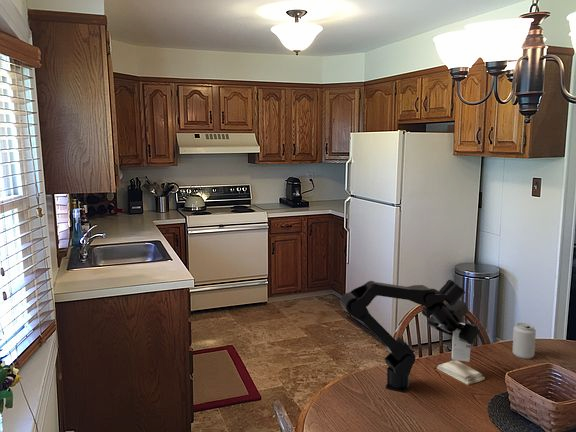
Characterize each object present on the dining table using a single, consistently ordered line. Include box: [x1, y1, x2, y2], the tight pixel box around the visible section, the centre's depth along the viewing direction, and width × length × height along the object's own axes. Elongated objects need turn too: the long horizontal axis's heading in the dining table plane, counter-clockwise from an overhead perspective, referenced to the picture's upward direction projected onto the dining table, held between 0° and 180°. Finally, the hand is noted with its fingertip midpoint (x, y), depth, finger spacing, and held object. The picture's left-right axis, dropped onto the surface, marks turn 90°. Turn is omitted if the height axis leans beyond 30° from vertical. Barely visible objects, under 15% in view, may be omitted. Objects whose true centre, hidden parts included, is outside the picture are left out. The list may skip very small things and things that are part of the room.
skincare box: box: [451, 322, 472, 362], centre depth 167 cm, size 6×4×12 cm
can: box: [512, 322, 537, 360], centre depth 182 cm, size 8×8×12 cm
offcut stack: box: [436, 360, 486, 386], centre depth 169 cm, size 8×14×2 cm, turn 27°
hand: (464, 339), depth 168 cm, fingers closed on skincare box, 7 cm apart
